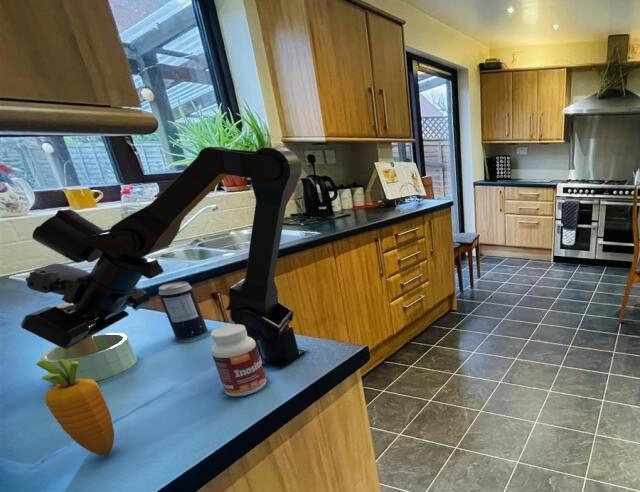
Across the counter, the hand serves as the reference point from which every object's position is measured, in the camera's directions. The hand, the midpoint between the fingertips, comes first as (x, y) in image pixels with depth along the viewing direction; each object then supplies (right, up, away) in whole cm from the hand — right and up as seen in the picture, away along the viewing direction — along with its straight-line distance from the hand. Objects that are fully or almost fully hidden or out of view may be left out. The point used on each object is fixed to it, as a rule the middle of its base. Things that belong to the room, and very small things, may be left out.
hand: (72, 342), depth 71 cm
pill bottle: (+32, -8, -2) cm, 33 cm away
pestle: (+2, -5, +3) cm, 6 cm away
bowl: (+1, -6, +4) cm, 7 cm away
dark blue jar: (+8, 0, +17) cm, 19 cm away
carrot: (+23, -15, -16) cm, 32 cm away
